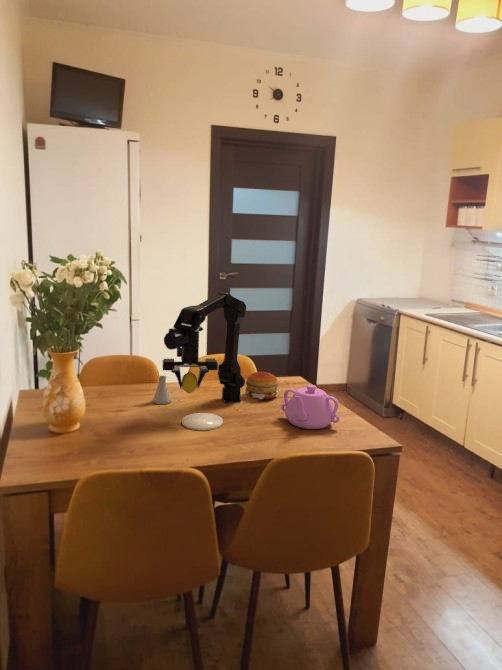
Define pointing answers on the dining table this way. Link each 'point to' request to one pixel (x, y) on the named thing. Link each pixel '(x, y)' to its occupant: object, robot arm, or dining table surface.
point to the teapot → (310, 408)
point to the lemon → (189, 382)
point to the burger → (262, 385)
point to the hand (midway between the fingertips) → (189, 388)
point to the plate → (202, 421)
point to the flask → (161, 392)
